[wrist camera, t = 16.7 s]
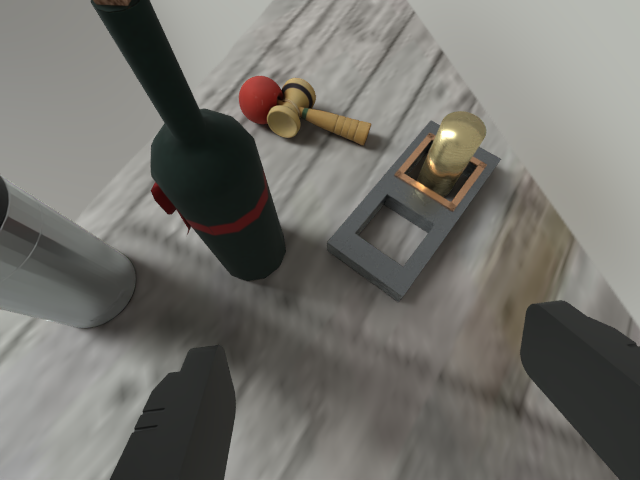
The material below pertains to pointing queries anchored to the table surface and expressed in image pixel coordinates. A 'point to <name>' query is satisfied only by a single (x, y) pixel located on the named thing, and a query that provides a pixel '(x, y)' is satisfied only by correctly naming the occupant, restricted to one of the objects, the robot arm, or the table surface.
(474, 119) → the brass peg
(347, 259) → the grey flat frame
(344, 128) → the kendama
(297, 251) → the table surface
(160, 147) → the wine bottle
